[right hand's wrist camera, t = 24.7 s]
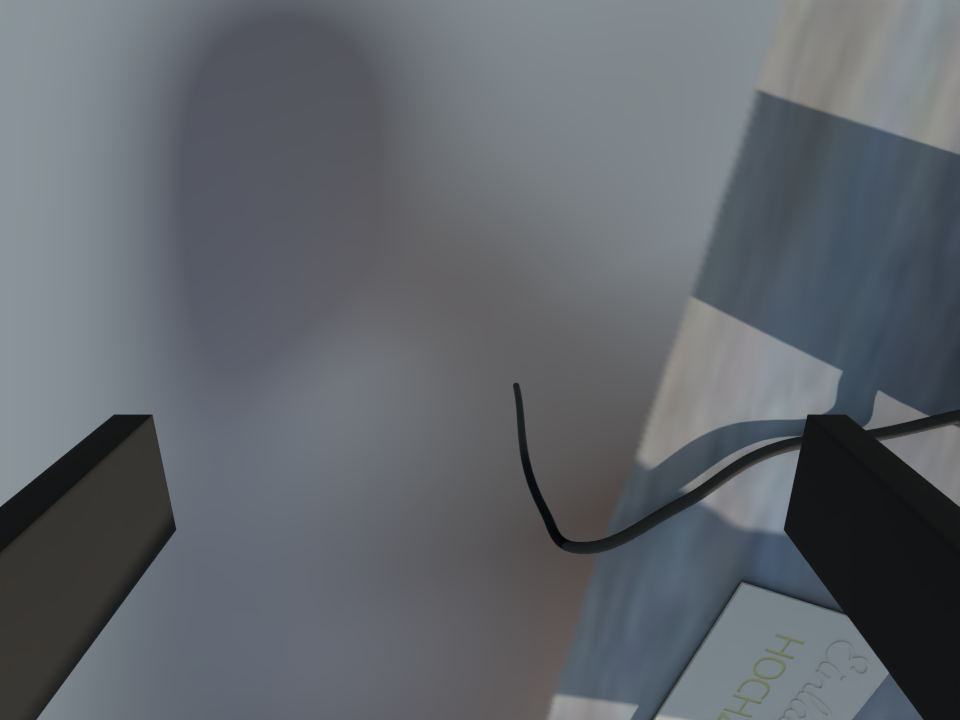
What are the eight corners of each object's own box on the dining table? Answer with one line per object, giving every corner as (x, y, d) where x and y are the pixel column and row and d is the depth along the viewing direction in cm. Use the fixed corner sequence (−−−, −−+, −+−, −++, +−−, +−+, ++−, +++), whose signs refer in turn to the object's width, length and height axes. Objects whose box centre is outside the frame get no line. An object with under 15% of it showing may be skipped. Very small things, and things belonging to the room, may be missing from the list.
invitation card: (743, 584, 46) (917, 639, 48) (741, 581, 46) (915, 636, 48) (620, 774, 53) (776, 815, 55) (619, 770, 54) (774, 812, 55)
